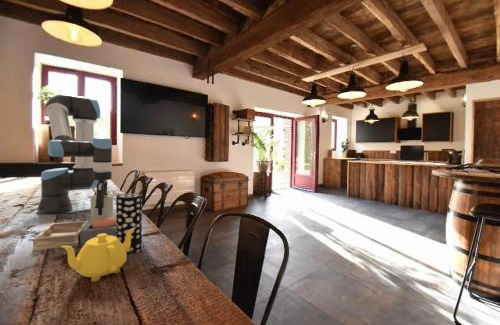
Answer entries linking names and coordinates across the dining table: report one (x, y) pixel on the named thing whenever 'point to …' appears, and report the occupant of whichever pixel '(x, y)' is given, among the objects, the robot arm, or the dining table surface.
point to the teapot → (100, 256)
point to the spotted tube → (129, 219)
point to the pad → (104, 222)
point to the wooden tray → (59, 235)
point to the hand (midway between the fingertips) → (102, 218)
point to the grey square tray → (94, 232)
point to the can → (107, 206)
